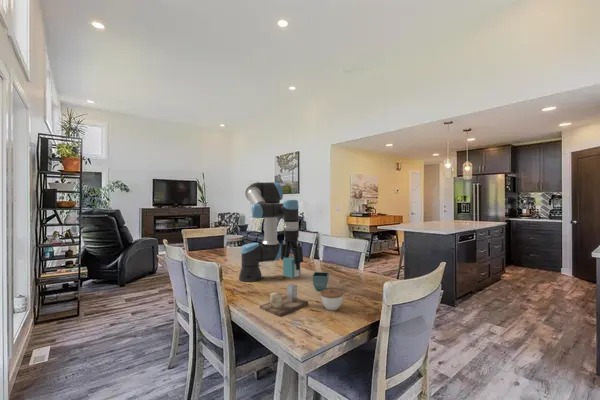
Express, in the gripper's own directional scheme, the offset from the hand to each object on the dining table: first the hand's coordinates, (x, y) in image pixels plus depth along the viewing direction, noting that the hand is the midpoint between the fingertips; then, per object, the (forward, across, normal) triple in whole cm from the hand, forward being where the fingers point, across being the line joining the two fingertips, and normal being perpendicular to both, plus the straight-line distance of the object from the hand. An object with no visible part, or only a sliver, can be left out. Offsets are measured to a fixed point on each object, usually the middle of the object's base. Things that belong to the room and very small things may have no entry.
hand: (291, 274), depth 149 cm
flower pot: (+15, -3, +28) cm, 32 cm away
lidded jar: (+15, +19, +9) cm, 26 cm away
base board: (+15, 0, -5) cm, 16 cm away
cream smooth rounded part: (+15, 0, -11) cm, 18 cm away
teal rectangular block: (0, 0, 0) cm, 0 cm away
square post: (+15, 0, 0) cm, 15 cm away
